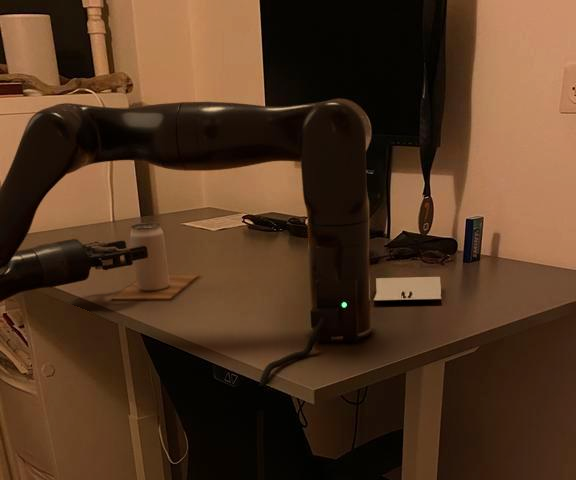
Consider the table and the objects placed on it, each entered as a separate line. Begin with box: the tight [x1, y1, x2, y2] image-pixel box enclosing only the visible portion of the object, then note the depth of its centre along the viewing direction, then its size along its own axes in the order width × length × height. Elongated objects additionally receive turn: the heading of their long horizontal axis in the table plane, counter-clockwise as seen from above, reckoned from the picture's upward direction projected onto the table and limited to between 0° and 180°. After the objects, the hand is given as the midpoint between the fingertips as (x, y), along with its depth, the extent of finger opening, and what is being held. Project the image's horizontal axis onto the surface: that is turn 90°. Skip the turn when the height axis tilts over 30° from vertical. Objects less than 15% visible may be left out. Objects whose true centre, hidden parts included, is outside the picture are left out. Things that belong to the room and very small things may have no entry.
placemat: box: [111, 274, 199, 302], centre depth 160 cm, size 18×12×1 cm, turn 169°
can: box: [129, 222, 170, 291], centre depth 156 cm, size 6×6×12 cm
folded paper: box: [373, 276, 442, 301], centre depth 143 cm, size 12×12×2 cm
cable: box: [369, 248, 420, 264], centre depth 169 cm, size 14×28×2 cm, turn 126°
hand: (135, 248), depth 154 cm, fingers open, 8 cm apart
